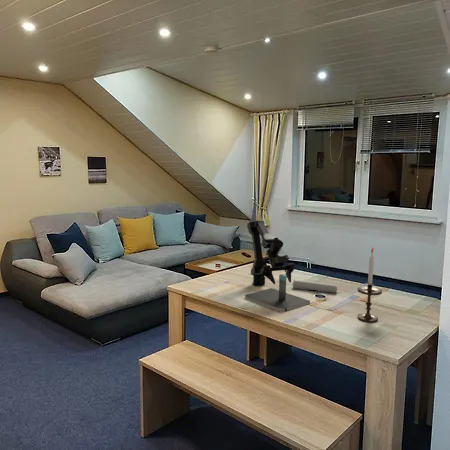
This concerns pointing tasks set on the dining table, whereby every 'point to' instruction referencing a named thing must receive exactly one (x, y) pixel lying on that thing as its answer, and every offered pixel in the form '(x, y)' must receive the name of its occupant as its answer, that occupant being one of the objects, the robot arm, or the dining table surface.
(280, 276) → the ball
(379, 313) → the dining table surface
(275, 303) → the notebook
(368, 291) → the candlestick
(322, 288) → the tube
